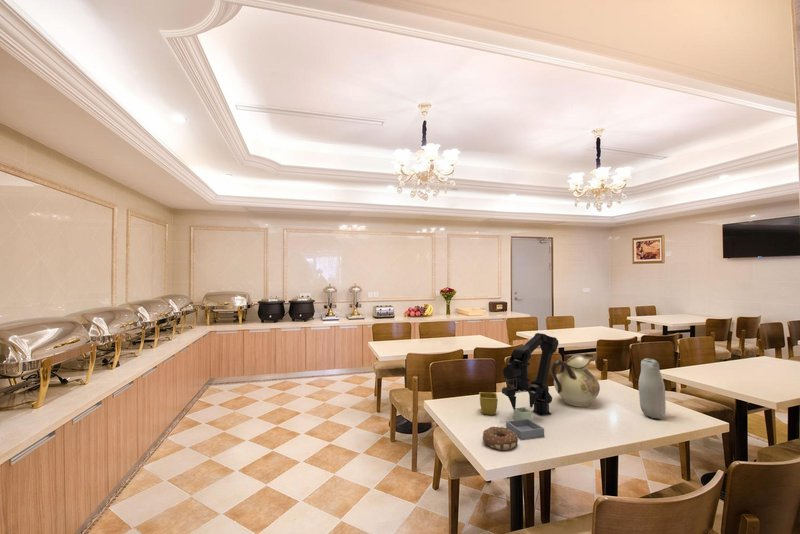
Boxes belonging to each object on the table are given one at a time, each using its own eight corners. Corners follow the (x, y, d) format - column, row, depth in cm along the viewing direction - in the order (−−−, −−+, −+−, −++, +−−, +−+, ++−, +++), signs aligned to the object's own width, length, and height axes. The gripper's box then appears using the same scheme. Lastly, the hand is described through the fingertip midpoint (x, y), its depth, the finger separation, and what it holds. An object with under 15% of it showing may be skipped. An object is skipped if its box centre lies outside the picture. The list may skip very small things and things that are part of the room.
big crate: (528, 426, 156) (528, 418, 157) (544, 436, 145) (544, 428, 146) (506, 428, 154) (505, 421, 154) (520, 440, 143) (520, 431, 143)
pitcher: (601, 400, 190) (599, 354, 191) (599, 414, 170) (597, 363, 171) (557, 394, 202) (555, 351, 203) (551, 406, 182) (549, 359, 183)
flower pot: (498, 417, 168) (497, 398, 168) (480, 415, 169) (479, 397, 170) (496, 410, 176) (496, 392, 177) (479, 409, 178) (479, 392, 179)
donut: (507, 435, 148) (507, 423, 148) (523, 450, 134) (523, 437, 135) (476, 438, 146) (476, 426, 146) (489, 453, 132) (489, 440, 132)
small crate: (524, 417, 167) (524, 407, 167) (532, 422, 161) (531, 411, 161) (513, 418, 165) (513, 408, 165) (520, 423, 159) (520, 412, 160)
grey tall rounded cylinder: (670, 418, 164) (666, 359, 165) (659, 422, 159) (656, 362, 160) (647, 411, 172) (644, 355, 174) (636, 415, 167) (633, 358, 169)
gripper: (528, 369, 174) (529, 400, 173) (495, 372, 170) (496, 404, 169) (542, 375, 163) (543, 408, 163) (507, 378, 159) (508, 412, 158)
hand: (522, 408), depth 163 cm, fingers open, 9 cm apart
